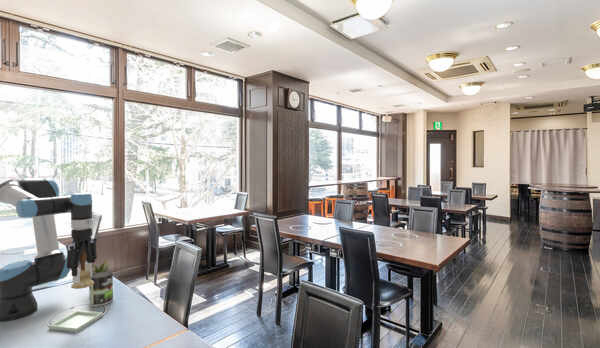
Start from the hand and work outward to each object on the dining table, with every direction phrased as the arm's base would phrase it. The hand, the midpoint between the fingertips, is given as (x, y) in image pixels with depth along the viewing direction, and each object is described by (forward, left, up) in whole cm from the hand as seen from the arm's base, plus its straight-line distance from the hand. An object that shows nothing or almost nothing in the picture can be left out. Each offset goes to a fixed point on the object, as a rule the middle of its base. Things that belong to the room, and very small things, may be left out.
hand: (82, 279), depth 134 cm
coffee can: (-8, +19, -19) cm, 28 cm away
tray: (-2, -1, -19) cm, 19 cm away
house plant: (-20, +31, -19) cm, 41 cm away
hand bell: (0, 0, -3) cm, 3 cm away
